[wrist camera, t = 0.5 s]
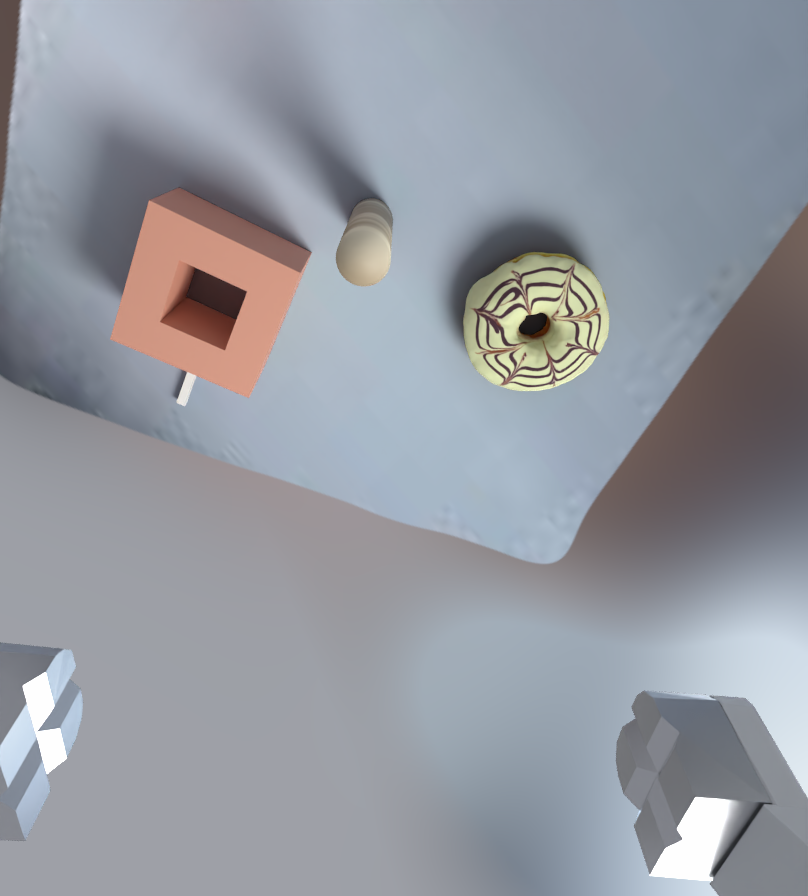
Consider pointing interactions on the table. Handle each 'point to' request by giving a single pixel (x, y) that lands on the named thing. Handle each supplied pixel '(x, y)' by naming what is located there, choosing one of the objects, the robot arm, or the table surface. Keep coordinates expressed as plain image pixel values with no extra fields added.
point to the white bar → (186, 389)
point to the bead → (191, 323)
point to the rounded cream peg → (366, 243)
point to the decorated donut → (528, 293)
